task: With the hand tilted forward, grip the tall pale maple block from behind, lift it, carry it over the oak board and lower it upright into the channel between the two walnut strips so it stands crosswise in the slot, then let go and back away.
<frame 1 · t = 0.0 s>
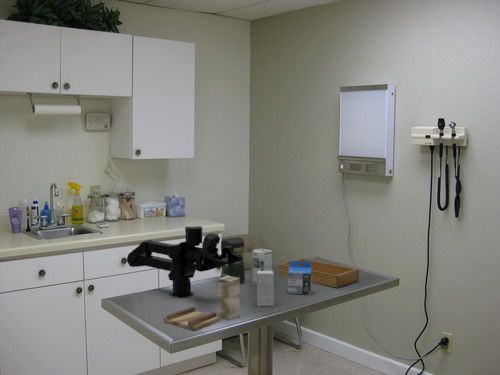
hand: (233, 261, 204), 17 cm above the table, tool horizontal, fingers open, 9 cm apart
syrup box: (261, 285, 235), on the table
coffee jar: (232, 282, 239), on the table
skincare box: (265, 304, 210), on the table
tray: (317, 279, 247), on the table
slotted oak board: (191, 321, 191), on the table
maple block: (229, 315, 197), on the table
label tape box: (299, 293, 225), on the table
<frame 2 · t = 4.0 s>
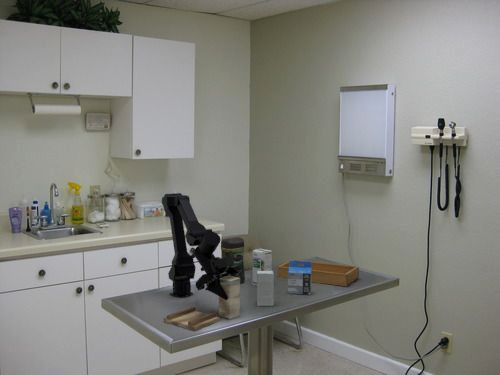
hand: (232, 297, 195), 7 cm above the table, tool tilted 45°, fingers closed on maple block, 5 cm apart
maple block: (229, 315, 197), on the table, touching gripper
when the fingers open (9 cm above the table, at t = 8.5 s): maple block stays where it is, resting on slotted oak board.
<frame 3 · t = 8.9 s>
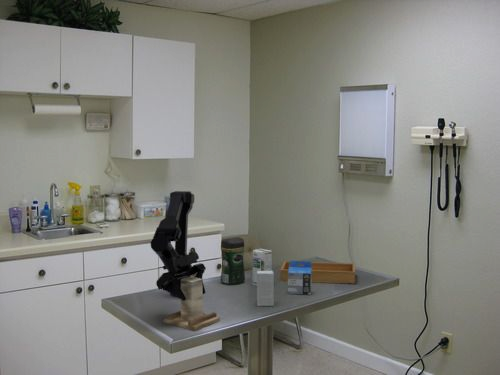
hand: (194, 296, 189), 9 cm above the table, tool tilted 45°, fingers open, 9 cm apart
maple block: (191, 317, 191), point 1 cm above the table, touching slotted oak board
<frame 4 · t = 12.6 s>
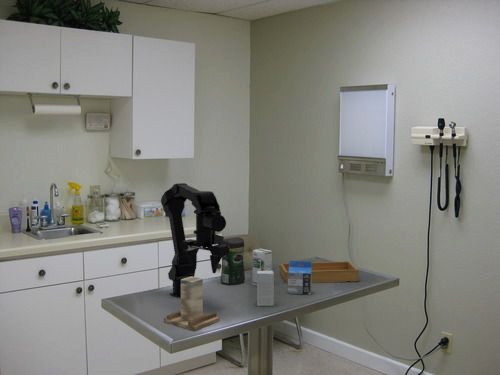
hand: (204, 271, 205), 13 cm above the table, tool pointing down, fingers open, 9 cm apart
at the end: maple block inside the target area on the slotted oak board (0.0 cm from its centre), point 1.2 cm above the slotted oak board's base; maple block tilted 0°; the gripper is holding nothing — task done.
